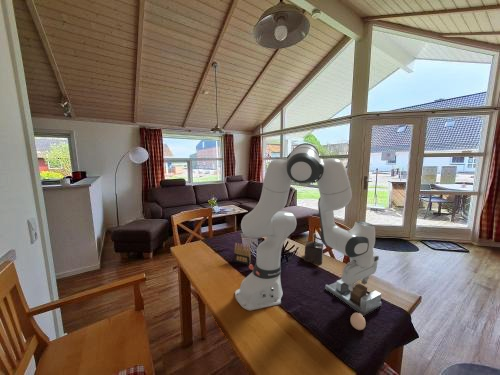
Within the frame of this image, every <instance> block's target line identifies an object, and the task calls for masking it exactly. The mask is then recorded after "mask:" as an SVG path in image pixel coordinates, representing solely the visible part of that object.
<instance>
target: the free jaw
mask: <svg viewBox="0 0 500 375" xmlns="http://www.w3.org/2000/svg"><path fill="white" fill-rule="evenodd" d="M335 282H336V291H337V292H339V293H340V294H341V293H344V292H346V291H348V290H349V289H348V288H349V286H348V285H347V284H346V283H344V282H343V281H342V279H341V278H340V279H338V280H336V281H335Z"/></svg>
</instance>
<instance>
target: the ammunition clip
mask: <svg viewBox="0 0 500 375" xmlns="http://www.w3.org/2000/svg"><path fill="white" fill-rule="evenodd" d="M233 262H236V263H240V264H243V265H246V266H247V265H248V266H249V265H250V264H252V256H251V247H250V245H248V244H244V243H243V244H242V243H239V242H235V243H234V253H233Z"/></svg>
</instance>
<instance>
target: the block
mask: <svg viewBox="0 0 500 375" xmlns="http://www.w3.org/2000/svg"><path fill="white" fill-rule="evenodd" d="M353 286H354V290H353V291H351V294H350V298H352V299H353V300H355V301H356V302H358V303H359V304H360V302H361V297H363V296H365V295H367V294H368V293H367V292H368V287H367V286H365V285H364V284H362V283H361V282H355V283H354V284H353Z"/></svg>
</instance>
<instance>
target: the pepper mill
mask: <svg viewBox="0 0 500 375" xmlns="http://www.w3.org/2000/svg"><path fill="white" fill-rule="evenodd" d="M316 239H317V240H320V241H321V237H317V234H316V233H314V234H313V241H310V240H309V241H308V240H306V243H305V245H304V246H305V247H304V260H303V261H304V262H305V263H306V262H307V263H310V262H311V264H315V265H316V264H317V265H322V264H323V258H324V257H323V254H324V253H323V251H324V244H323V243H322V242H321V243H320V242H318V241H316Z"/></svg>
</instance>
